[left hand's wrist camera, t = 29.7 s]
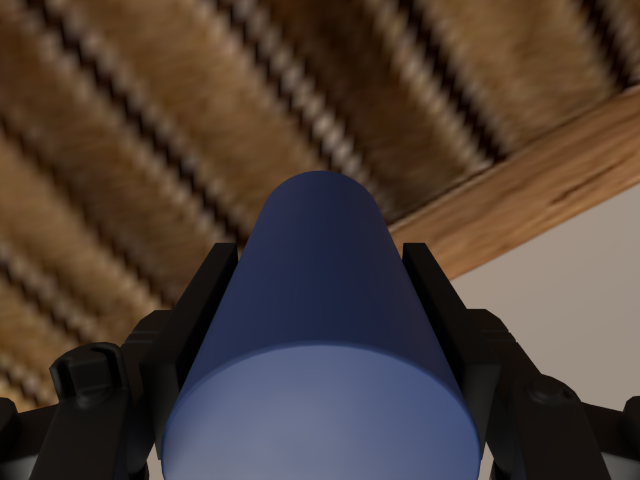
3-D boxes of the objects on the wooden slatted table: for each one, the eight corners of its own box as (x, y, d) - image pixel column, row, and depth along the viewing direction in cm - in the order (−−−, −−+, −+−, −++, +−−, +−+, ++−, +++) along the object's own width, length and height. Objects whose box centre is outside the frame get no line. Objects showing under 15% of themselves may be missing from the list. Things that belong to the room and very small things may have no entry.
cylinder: (237, 198, 19) (93, 406, 7) (357, 150, 18) (431, 291, 6) (288, 301, 21) (246, 598, 9) (398, 262, 20) (513, 533, 8)
